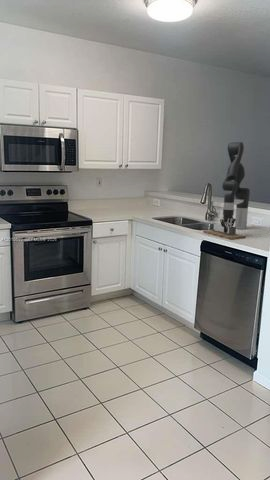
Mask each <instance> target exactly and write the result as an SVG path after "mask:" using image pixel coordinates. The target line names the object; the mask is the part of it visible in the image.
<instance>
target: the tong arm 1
mask: <svg viewBox="0 0 270 480" xmlns="http://www.w3.org/2000/svg"><path fill="white" fill-rule="evenodd" d="M220 224H221V223H218V224H214V230H215V231H220V232H224V227H222V225H220ZM234 227H235V226H232V227H230V226H228V225H227V233H228V234H234Z"/></svg>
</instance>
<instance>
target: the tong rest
mask: <svg viewBox="0 0 270 480" xmlns="http://www.w3.org/2000/svg"><path fill="white" fill-rule="evenodd" d="M214 224H216V222H213V223H212V229H209V230H203V231H202V233H203V232H204V233H203V234H206V233H207V235H210V234H211V236H215V237H219V238H223V239H227V240H230V241H232V240H233V241H234V240H242V239H243V240H244V239H246V237H247V236H246V235H242V234H239V233H236V234H228V233H224V232H220V231H215V230H214Z"/></svg>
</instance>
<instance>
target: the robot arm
mask: <svg viewBox="0 0 270 480" xmlns="http://www.w3.org/2000/svg"><path fill="white" fill-rule="evenodd" d="M244 148H245V146H244V142H242V141H236V142H235V141H234V142H229V143H228V144H227V152H228V153H227V155H228V158H229V161H230V164H229V165H228V167H227V172H226V176H225V179H224V181H223V182H222V190H223V191H225V192H227V191H229V192H231V193H226V194H224V200H223V208H222V215H223V217H222V218H220V219H219V222H220V224H221V225H222V227H224V233H227V226H232V227H236V230H247V226H248V225H247V224H248V212H249V203H250V195H251V192H250V190H251V189H250V188H247V187H241V186H240V185H241V183H242V182H243V180H244V179H245V176H246V173H245V167H244V165H243V164H242V162H241V161H242V157H243V154H244V150H245V149H244ZM235 198H236V199H237V200H243V201H241V202H240V203H236V207H235ZM234 213H235V218H234ZM225 225H226V226H225Z"/></svg>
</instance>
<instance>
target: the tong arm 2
mask: <svg viewBox="0 0 270 480" xmlns="http://www.w3.org/2000/svg"><path fill="white" fill-rule="evenodd" d="M215 223H216V222H215ZM216 224H220V225H221V223H216ZM225 226H226V225H225ZM230 227H234V234H237V229H236V227H235V226H230Z"/></svg>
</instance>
